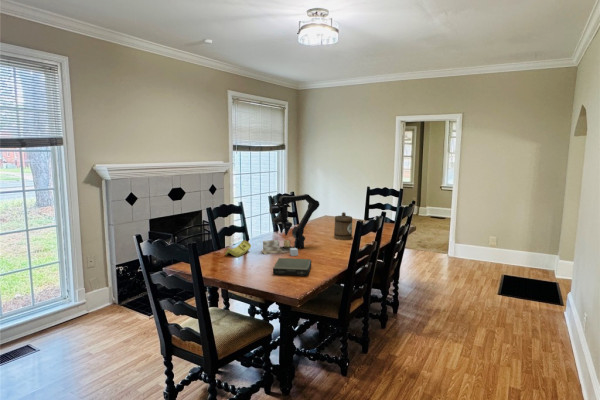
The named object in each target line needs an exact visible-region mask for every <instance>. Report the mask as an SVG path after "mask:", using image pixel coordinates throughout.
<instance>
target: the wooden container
mask: <svg viewBox="0 0 600 400" xmlns="http://www.w3.org/2000/svg"><path fill="white" fill-rule="evenodd" d="M333 233H334V235H333V238H334V239H335V238H336V239H335V240H338V239H340V240H339V241H349V239H350V240H352V238H353V217H352V216H350V215H346V212H345V211H343V212H341V215H336V216H334V231H333Z"/></svg>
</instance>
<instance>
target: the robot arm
mask: <svg viewBox="0 0 600 400" xmlns="http://www.w3.org/2000/svg"><path fill="white" fill-rule="evenodd" d="M299 201H306V203H308V205H307V209H306V211H305V213H304V215H303V217H302V219H301V221H300V222H299V224H298V225H297V226H294V227H293V223H292V222H291V221H289V219H288V218H289V216H290V215H289V213H288V211H289V209H288V208H291V207H292V206H291V205H290V204H291V203H293V202H299ZM319 207H320V201H318V200H316V199H315V198H313V197H312V196H311V195H310V194H309V193H304V194H300V195H299V194H298V195H292V196H291V195H280V196H279V198H278V200H277V202H276V204H270V206H269V214H270V215H275V214H276V215H278V216H276V217H274V218H272V219H271V220H272V223H273V224H274V225H277V226H278V227H279V232H280V233H281V234H282V233H283V232H284V236H288V233H289V231H290V230H291V228H292V227H293V228H292V231H291V234H292V235H291V236H292V237H293V239H294V241H293V242H294V246H293V248H297V249H298V250H299V249H306V247H305V240H306V237H305V236H304V234H305V233H304V232H305V227H306V226H307V223H308V222H309V221H310V219H311V217H312V215H313V213H314V212H315V211H317V209H318V208H319Z"/></svg>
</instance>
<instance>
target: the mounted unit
mask: <svg viewBox="0 0 600 400" xmlns="http://www.w3.org/2000/svg"><path fill="white" fill-rule="evenodd" d="M290 248H294V246H291V245H290ZM261 252H262V254H264V255H271V254H272V255H273V254H284V253H285V254H286V253H290V249H284V245H283V246H280V240H279V239H273V240H272V239H271V240H263V241H262V250H261Z"/></svg>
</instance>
